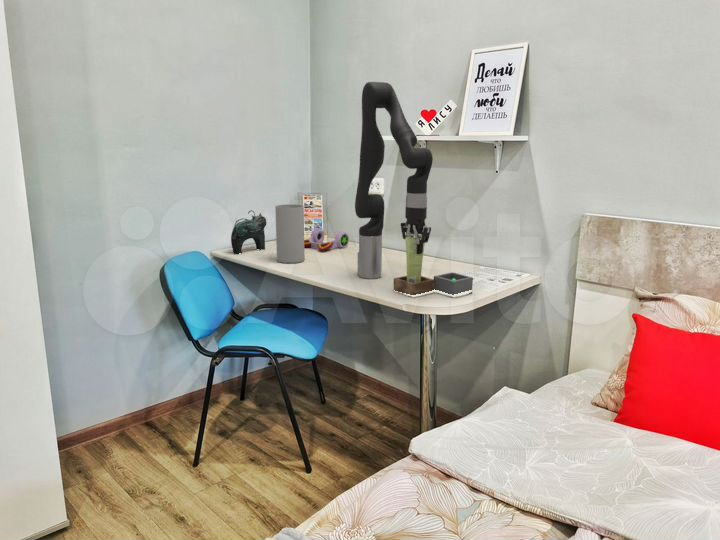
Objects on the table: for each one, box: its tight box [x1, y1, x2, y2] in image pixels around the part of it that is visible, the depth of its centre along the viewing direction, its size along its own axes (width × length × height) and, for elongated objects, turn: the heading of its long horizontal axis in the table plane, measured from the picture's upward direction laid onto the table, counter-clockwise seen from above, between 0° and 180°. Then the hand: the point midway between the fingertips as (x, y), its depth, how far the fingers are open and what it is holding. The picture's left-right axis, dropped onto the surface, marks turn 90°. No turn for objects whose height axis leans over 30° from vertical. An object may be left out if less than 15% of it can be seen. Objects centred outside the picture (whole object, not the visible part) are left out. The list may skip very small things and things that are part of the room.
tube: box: [404, 236, 426, 283], centre depth 204 cm, size 6×5×20 cm
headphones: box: [304, 227, 350, 251], centre depth 286 cm, size 20×10×20 cm
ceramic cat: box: [230, 210, 267, 255], centre depth 274 cm, size 20×6×20 cm, turn 139°
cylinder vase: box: [275, 203, 306, 264], centre depth 253 cm, size 12×12×25 cm
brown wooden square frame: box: [393, 275, 435, 295], centre depth 206 cm, size 10×10×5 cm
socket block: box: [433, 271, 474, 295], centre depth 205 cm, size 10×10×7 cm
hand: (414, 252), depth 203 cm, fingers closed on tube, 4 cm apart
